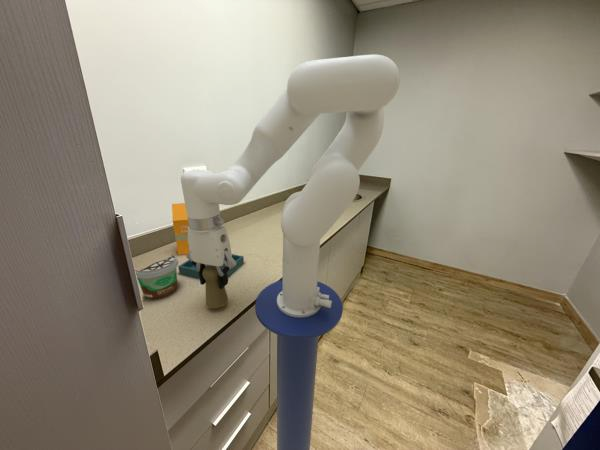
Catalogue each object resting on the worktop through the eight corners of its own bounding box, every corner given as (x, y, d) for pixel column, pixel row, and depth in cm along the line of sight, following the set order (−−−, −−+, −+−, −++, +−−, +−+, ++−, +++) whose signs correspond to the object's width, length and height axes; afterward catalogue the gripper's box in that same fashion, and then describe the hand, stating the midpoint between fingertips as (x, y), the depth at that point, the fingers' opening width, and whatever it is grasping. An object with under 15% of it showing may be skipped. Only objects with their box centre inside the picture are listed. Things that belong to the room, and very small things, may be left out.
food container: (152, 307, 67) (145, 276, 64) (139, 300, 70) (132, 270, 66) (190, 285, 77) (186, 257, 74) (178, 279, 80) (173, 252, 77)
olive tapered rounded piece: (232, 299, 69) (228, 265, 65) (215, 311, 64) (209, 275, 60) (218, 292, 72) (214, 259, 68) (201, 303, 67) (194, 268, 63)
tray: (243, 263, 92) (243, 256, 91) (220, 284, 79) (219, 276, 78) (207, 255, 96) (206, 248, 95) (179, 273, 83) (178, 266, 82)
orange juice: (180, 246, 103) (172, 201, 96) (202, 244, 106) (196, 200, 99) (177, 255, 96) (170, 206, 89) (201, 252, 99) (195, 205, 92)
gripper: (243, 220, 60) (249, 282, 67) (188, 213, 66) (198, 271, 72) (225, 231, 54) (233, 298, 60) (165, 222, 59) (179, 285, 65)
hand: (214, 283), depth 66 cm, fingers closed on olive tapered rounded piece, 5 cm apart
